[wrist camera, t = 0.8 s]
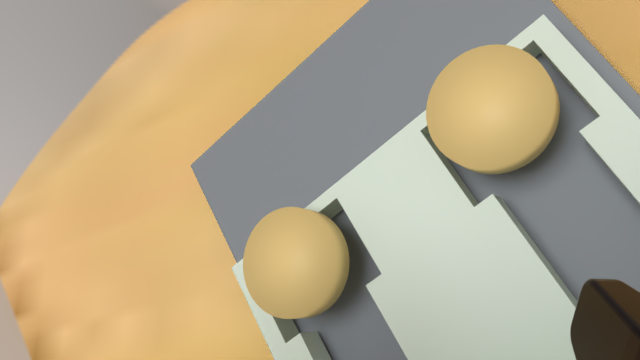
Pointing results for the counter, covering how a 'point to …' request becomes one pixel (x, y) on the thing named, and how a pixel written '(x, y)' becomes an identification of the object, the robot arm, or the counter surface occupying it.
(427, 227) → the panel
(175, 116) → the counter surface
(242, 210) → the board
